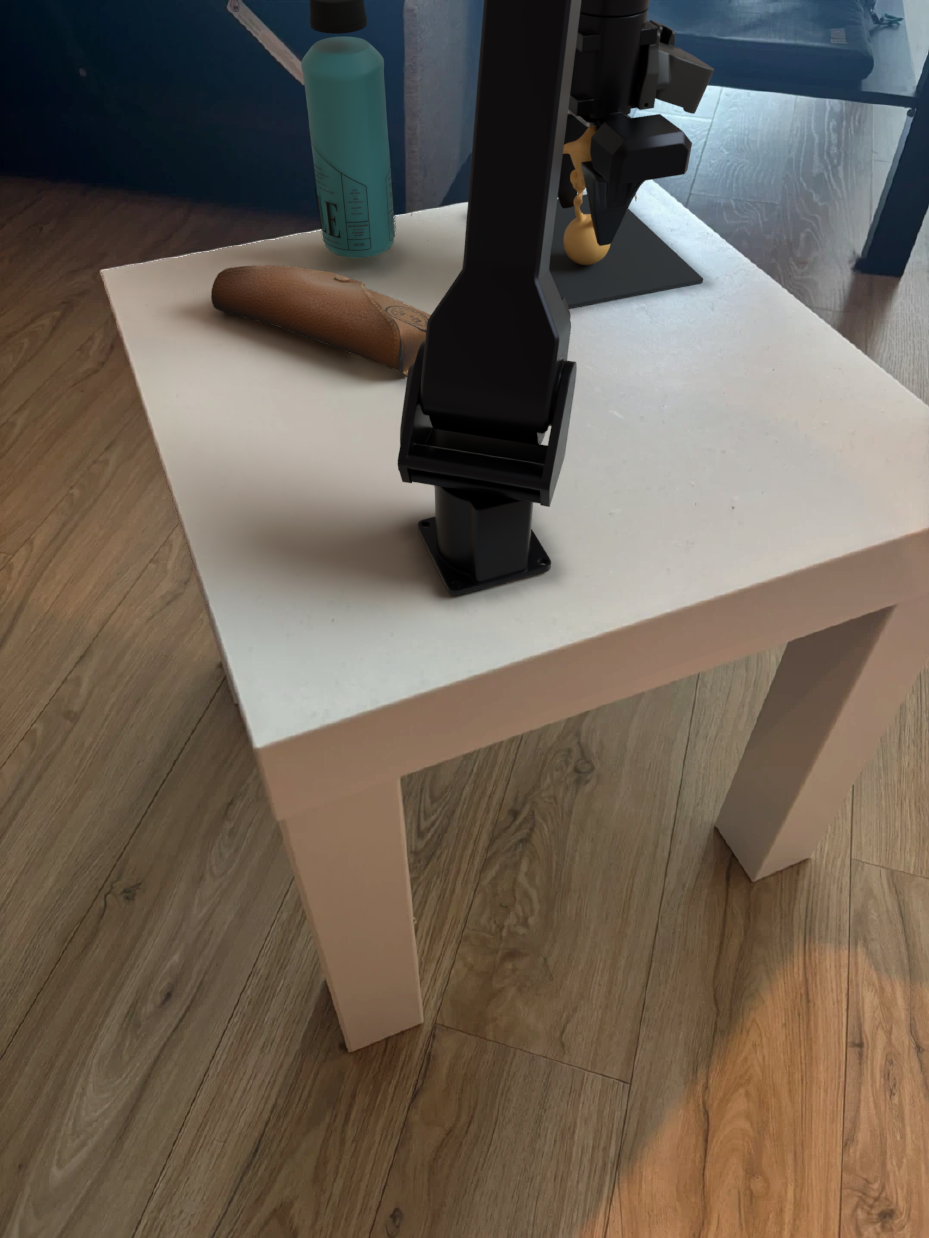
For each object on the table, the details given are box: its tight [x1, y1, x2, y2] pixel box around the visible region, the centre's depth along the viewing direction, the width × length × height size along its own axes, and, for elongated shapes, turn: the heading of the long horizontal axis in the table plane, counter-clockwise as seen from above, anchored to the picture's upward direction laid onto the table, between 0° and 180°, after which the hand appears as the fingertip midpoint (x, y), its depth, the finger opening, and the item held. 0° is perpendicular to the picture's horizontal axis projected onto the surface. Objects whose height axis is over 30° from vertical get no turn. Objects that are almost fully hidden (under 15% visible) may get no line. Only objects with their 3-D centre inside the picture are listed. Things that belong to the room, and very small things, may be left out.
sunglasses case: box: [210, 264, 431, 377], centre depth 73 cm, size 18×7×7 cm, turn 60°
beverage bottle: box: [300, 0, 398, 259], centre depth 74 cm, size 6×7×20 cm
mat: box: [549, 193, 704, 310], centre depth 83 cm, size 18×14×1 cm
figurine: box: [563, 126, 638, 265], centre depth 75 cm, size 8×6×12 cm
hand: (585, 225), depth 77 cm, fingers closed on figurine, 7 cm apart
